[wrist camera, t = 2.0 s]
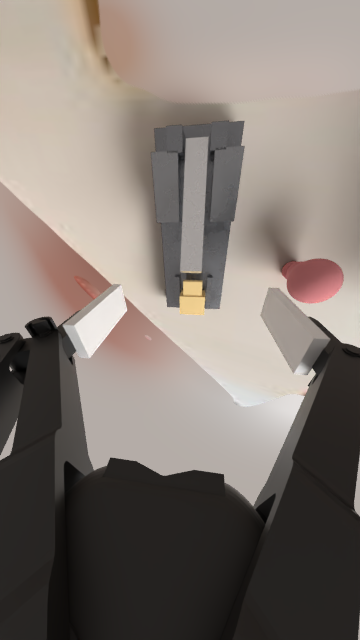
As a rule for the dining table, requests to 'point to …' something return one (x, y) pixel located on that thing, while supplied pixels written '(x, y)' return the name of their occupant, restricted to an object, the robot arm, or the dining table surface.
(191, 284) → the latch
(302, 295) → the light bulb
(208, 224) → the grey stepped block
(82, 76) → the dining table surface
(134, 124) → the dining table surface
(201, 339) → the dining table surface
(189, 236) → the light grey flat bar
